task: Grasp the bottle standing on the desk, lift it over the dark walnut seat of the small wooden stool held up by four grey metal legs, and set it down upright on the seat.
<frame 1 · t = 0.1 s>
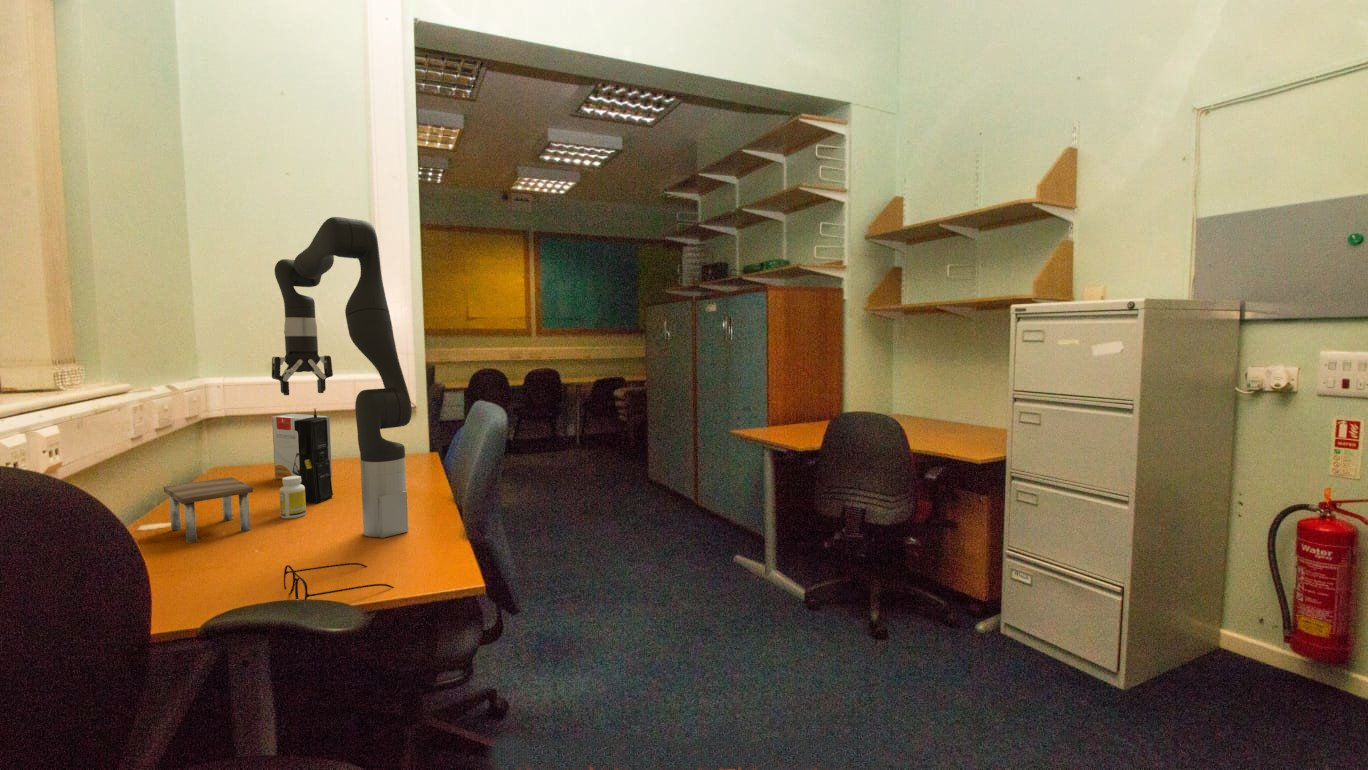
hand: (304, 394, 168), 29 cm above the table, fingers open, 8 cm apart
portable radio: (315, 501, 168), on the table
small wooden stool: (210, 530, 143), on the table
glasses: (340, 590, 111), on the table
hard drive box: (303, 479, 194), on the table
supplement bottle: (293, 516, 154), on the table
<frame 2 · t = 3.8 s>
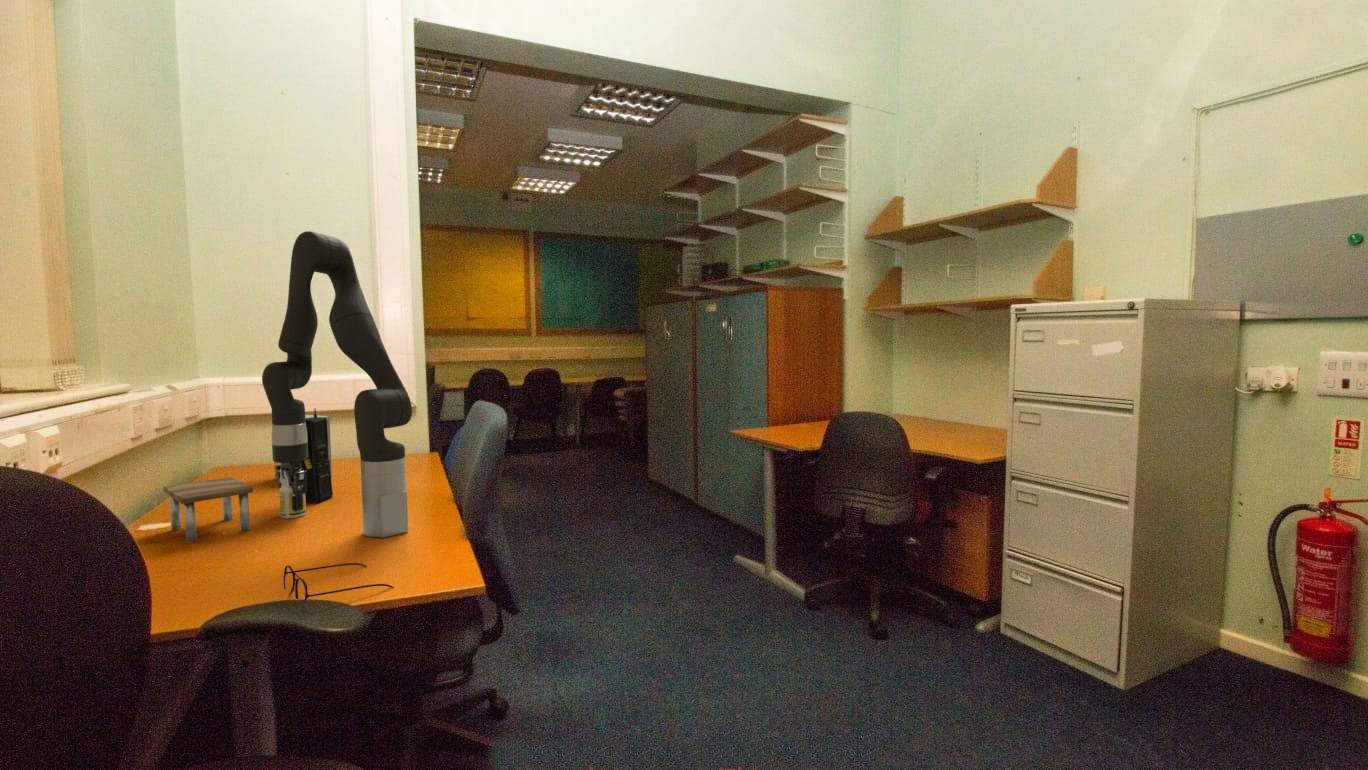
hand: (293, 507, 154), 2 cm above the table, fingers closed on supplement bottle, 5 cm apart
supplement bottle: (293, 516, 154), on the table, touching gripper
everything else where it was.
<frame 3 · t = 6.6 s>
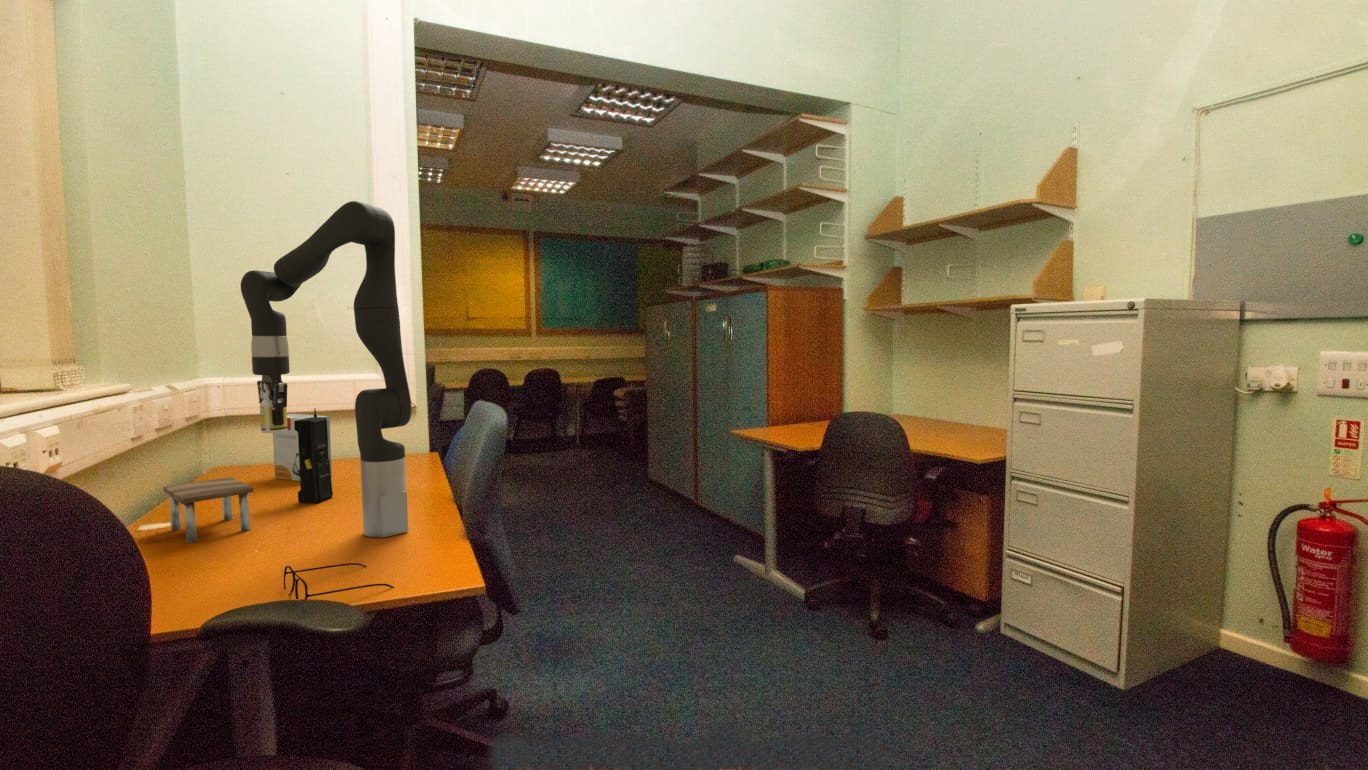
hand: (273, 423, 150), 24 cm above the table, fingers closed on supplement bottle, 5 cm apart
supplement bottle: (274, 432, 151), point 21 cm above the table, touching gripper
everything else where it was.
when the fingers open (13 cm above the table, at t = 9.7 s): supplement bottle drops 1 cm, resting on small wooden stool.
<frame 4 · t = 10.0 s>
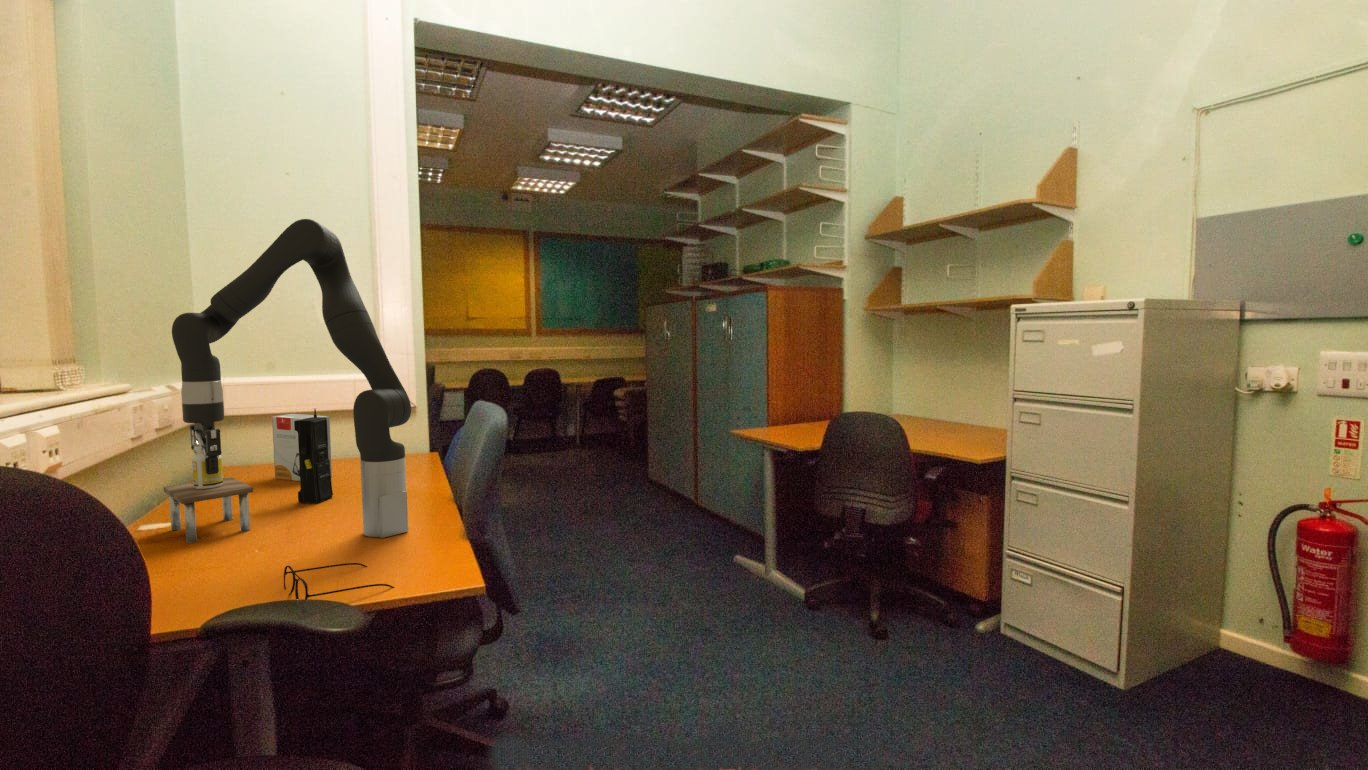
hand: (207, 471, 142), 14 cm above the table, fingers open, 7 cm apart
supplement bottle: (208, 487, 142), point 10 cm above the table, touching small wooden stool
everything else where it was.
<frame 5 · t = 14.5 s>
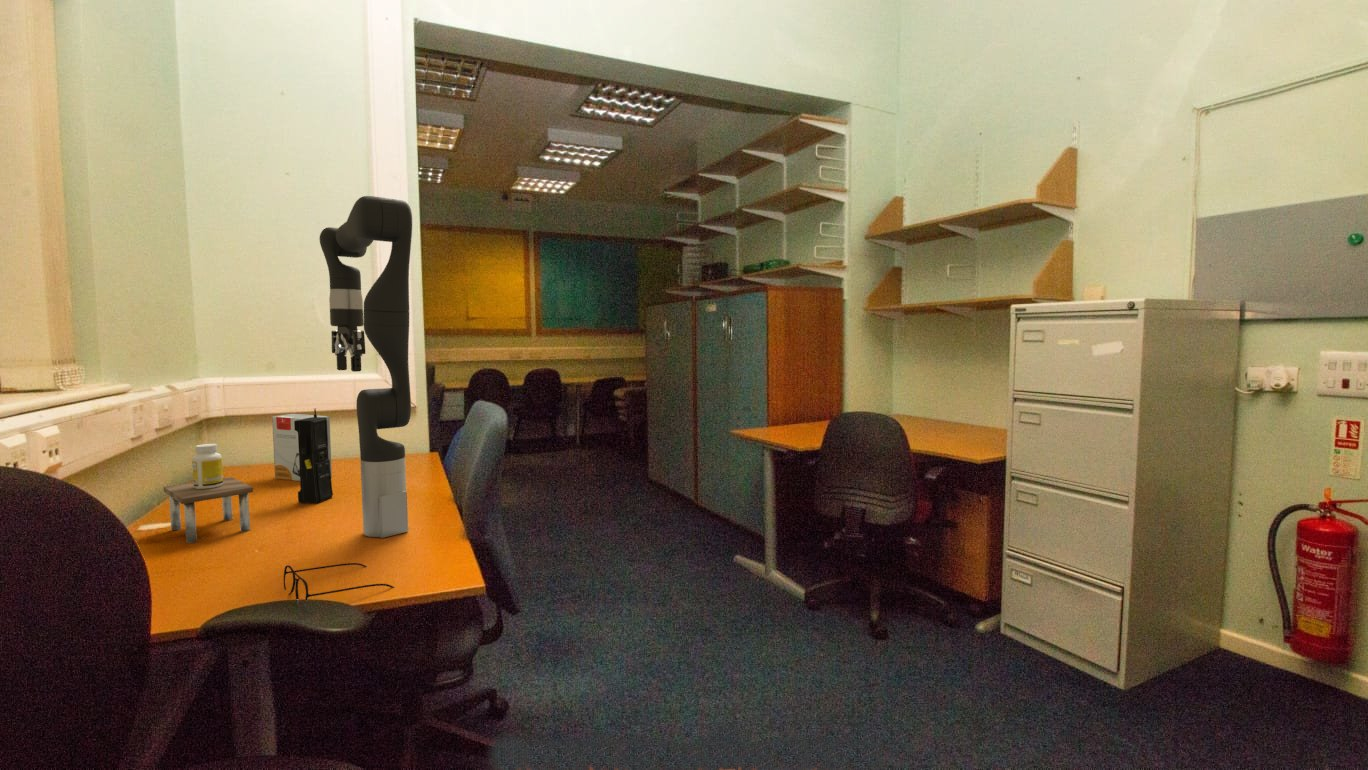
hand: (349, 370, 159), 36 cm above the table, fingers open, 8 cm apart
nothing on the table moved.
at the end: supplement bottle inside the target area on the small wooden stool (0.1 cm from its centre), point 10.0 cm above the small wooden stool's base; supplement bottle tilted 0°; the gripper is holding nothing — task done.
